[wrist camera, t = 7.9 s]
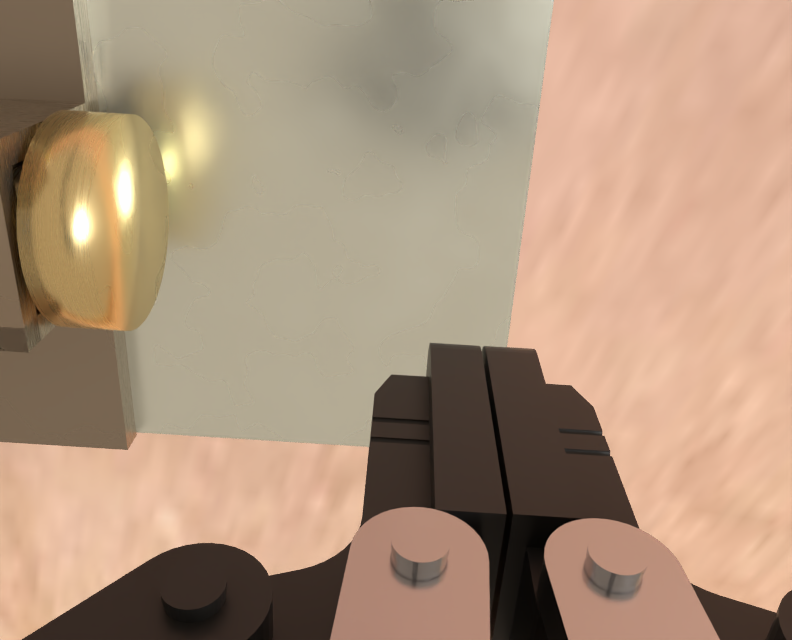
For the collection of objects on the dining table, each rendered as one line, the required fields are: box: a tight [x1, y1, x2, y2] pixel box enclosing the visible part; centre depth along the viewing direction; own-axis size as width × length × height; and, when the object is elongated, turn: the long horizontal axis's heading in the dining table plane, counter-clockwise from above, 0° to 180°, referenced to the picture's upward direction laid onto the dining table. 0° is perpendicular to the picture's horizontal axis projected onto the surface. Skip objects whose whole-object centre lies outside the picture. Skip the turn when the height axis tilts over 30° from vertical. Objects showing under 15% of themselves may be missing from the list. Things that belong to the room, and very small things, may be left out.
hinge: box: [0, 0, 554, 450], centre depth 18 cm, size 16×25×7 cm, turn 87°
